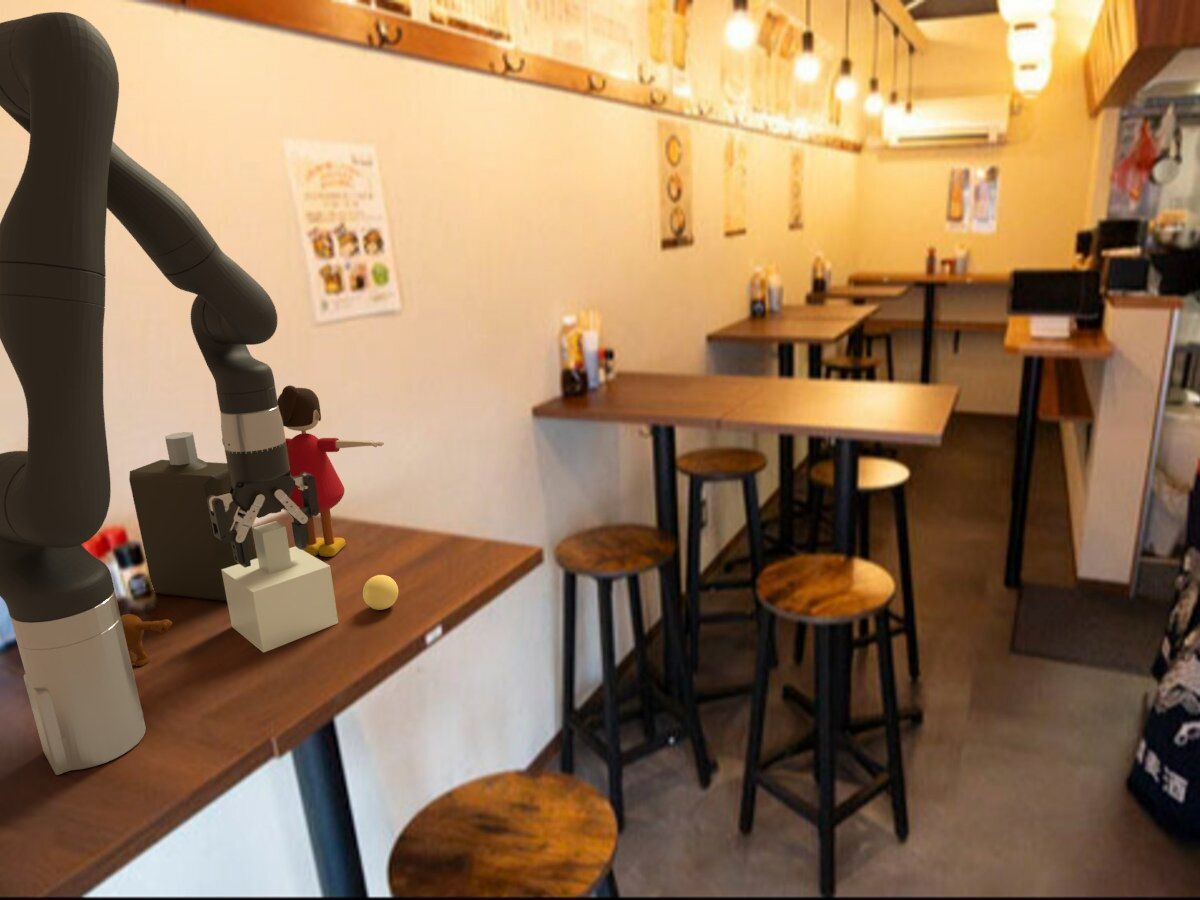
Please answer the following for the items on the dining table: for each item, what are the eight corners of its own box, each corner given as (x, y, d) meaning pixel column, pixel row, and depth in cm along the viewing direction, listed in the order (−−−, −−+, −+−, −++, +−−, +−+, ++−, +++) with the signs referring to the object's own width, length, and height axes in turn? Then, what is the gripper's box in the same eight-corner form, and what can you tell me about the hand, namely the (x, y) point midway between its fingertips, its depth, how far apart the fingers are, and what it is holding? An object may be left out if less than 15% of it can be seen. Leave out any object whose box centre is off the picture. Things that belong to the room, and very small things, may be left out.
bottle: (233, 605, 119) (204, 444, 113) (147, 595, 124) (113, 440, 117) (268, 582, 127) (242, 430, 120) (185, 574, 131) (156, 426, 124)
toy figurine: (81, 670, 103) (69, 622, 101) (101, 655, 107) (90, 609, 105) (168, 671, 102) (158, 624, 100) (186, 656, 105) (176, 610, 104)
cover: (263, 652, 106) (245, 549, 102) (231, 626, 113) (213, 529, 109) (338, 623, 113) (324, 525, 109) (304, 600, 120) (289, 507, 116)
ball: (376, 619, 113) (371, 587, 112) (358, 608, 117) (354, 577, 115) (406, 607, 117) (403, 575, 115) (388, 596, 120) (385, 566, 119)
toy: (405, 543, 140) (386, 375, 132) (383, 568, 130) (361, 388, 122) (261, 542, 143) (233, 377, 135) (228, 567, 133) (196, 391, 125)
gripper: (209, 459, 98) (231, 581, 103) (319, 434, 108) (335, 547, 112) (187, 448, 103) (210, 565, 108) (294, 426, 113) (311, 534, 117)
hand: (274, 556), depth 110 cm, fingers open, 7 cm apart
